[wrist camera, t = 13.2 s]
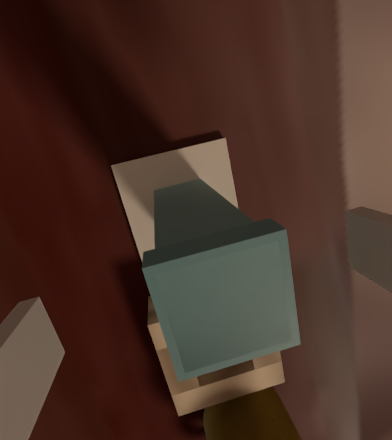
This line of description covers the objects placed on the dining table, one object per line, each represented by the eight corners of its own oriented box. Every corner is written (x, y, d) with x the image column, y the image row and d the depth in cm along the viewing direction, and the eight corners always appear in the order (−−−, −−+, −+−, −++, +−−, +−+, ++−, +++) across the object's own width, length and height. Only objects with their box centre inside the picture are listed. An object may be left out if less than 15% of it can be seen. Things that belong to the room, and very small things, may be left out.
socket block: (175, 378, 27) (178, 416, 24) (148, 296, 24) (147, 325, 20) (267, 349, 28) (284, 382, 24) (252, 267, 25) (270, 289, 21)
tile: (144, 266, 23) (144, 269, 23) (112, 164, 21) (110, 165, 20) (242, 239, 24) (244, 242, 23) (223, 138, 21) (225, 138, 21)
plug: (163, 238, 22) (178, 382, 9) (149, 187, 21) (141, 268, 8) (214, 224, 23) (300, 344, 9) (203, 174, 21) (286, 229, 8)
